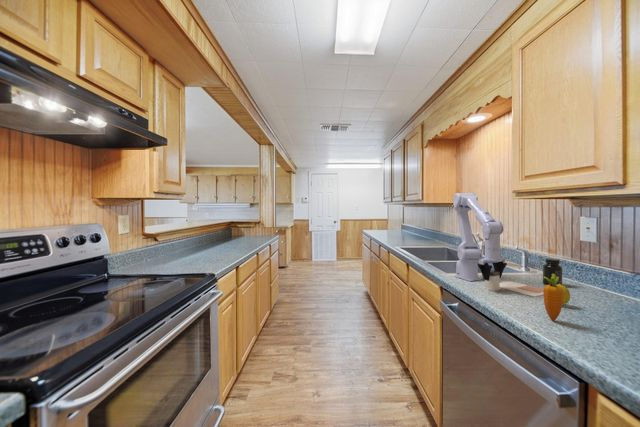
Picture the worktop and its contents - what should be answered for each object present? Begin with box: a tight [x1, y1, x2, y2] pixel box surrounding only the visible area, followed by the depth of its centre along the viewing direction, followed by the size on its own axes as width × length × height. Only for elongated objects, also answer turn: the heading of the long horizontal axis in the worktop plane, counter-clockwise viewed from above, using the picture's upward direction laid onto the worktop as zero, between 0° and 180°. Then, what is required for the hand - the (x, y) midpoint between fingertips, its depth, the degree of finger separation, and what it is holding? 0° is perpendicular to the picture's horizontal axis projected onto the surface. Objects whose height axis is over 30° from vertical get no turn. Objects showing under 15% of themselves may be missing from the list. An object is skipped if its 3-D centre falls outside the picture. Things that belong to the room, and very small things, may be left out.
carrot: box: [542, 274, 564, 322], centre depth 85 cm, size 5×5×15 cm
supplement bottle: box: [542, 258, 563, 286], centre depth 124 cm, size 7×7×12 cm
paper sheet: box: [500, 280, 544, 298], centre depth 118 cm, size 18×13×1 cm
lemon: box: [556, 284, 571, 305], centre depth 99 cm, size 6×6×8 cm
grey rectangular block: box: [484, 269, 501, 292], centre depth 118 cm, size 4×4×8 cm
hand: (492, 279), depth 118 cm, fingers open, 7 cm apart
